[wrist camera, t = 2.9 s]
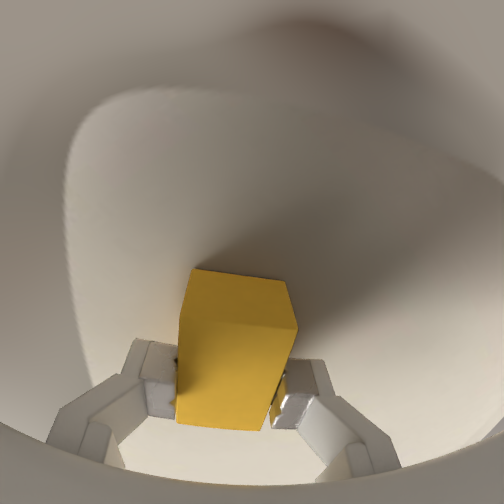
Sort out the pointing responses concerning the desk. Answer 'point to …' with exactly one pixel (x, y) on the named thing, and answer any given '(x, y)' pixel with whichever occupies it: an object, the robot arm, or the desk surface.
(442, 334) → the desk surface
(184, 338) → the sponge
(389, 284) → the desk surface
